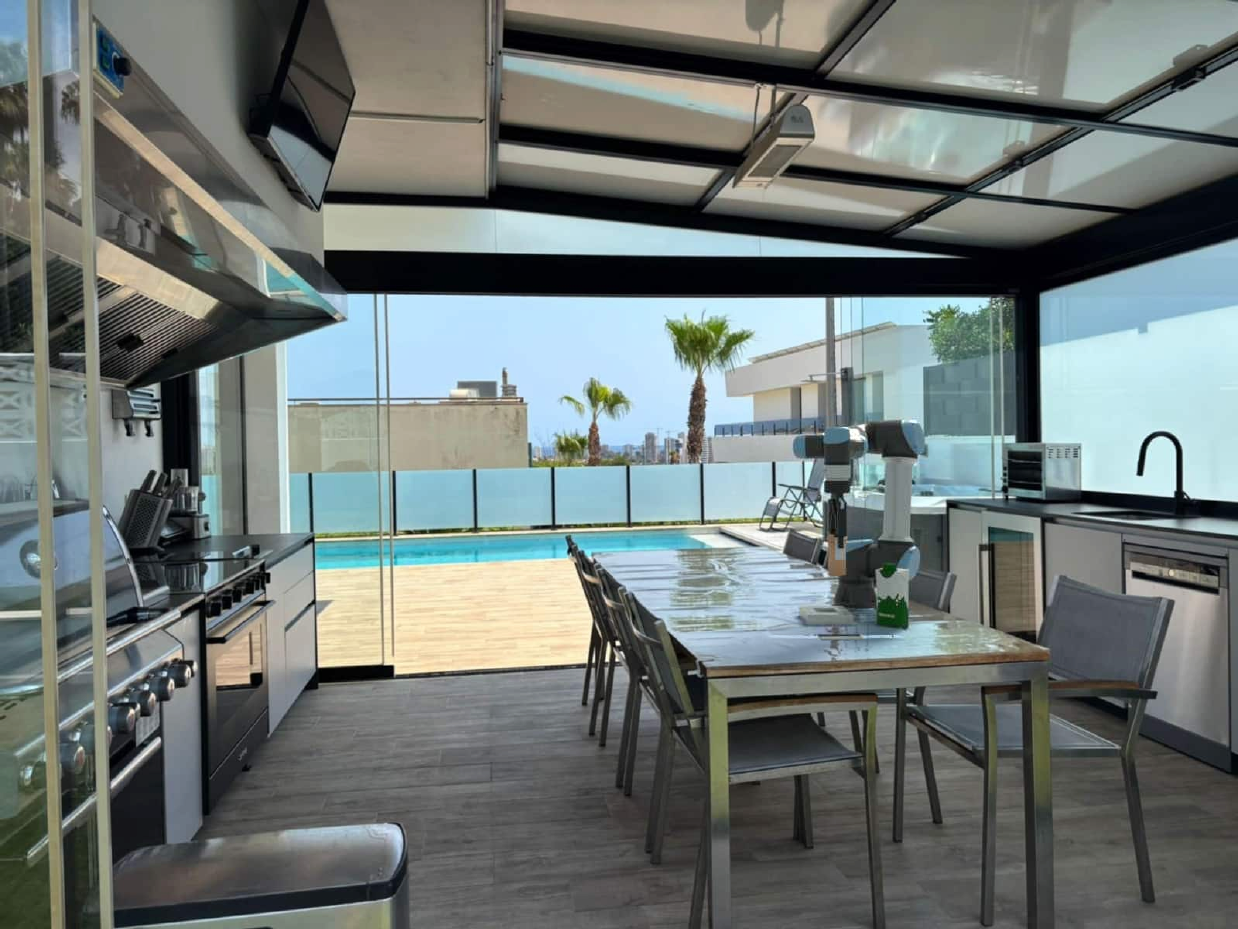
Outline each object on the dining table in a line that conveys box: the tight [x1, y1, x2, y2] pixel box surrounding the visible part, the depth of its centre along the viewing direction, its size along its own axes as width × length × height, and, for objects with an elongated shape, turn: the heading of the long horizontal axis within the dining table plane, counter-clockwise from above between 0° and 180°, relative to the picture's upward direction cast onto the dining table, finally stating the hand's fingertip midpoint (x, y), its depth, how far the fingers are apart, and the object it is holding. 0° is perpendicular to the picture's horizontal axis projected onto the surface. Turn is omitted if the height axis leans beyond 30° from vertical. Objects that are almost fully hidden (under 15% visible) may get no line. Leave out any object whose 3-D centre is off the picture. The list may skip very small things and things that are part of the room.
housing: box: [798, 605, 855, 626], centre depth 263 cm, size 14×14×4 cm
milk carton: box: [875, 563, 910, 630], centre depth 256 cm, size 9×9×20 cm
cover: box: [826, 535, 849, 576], centre depth 246 cm, size 6×6×11 cm
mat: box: [816, 633, 865, 641], centre depth 246 cm, size 12×12×1 cm
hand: (837, 557), depth 246 cm, fingers closed on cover, 6 cm apart
